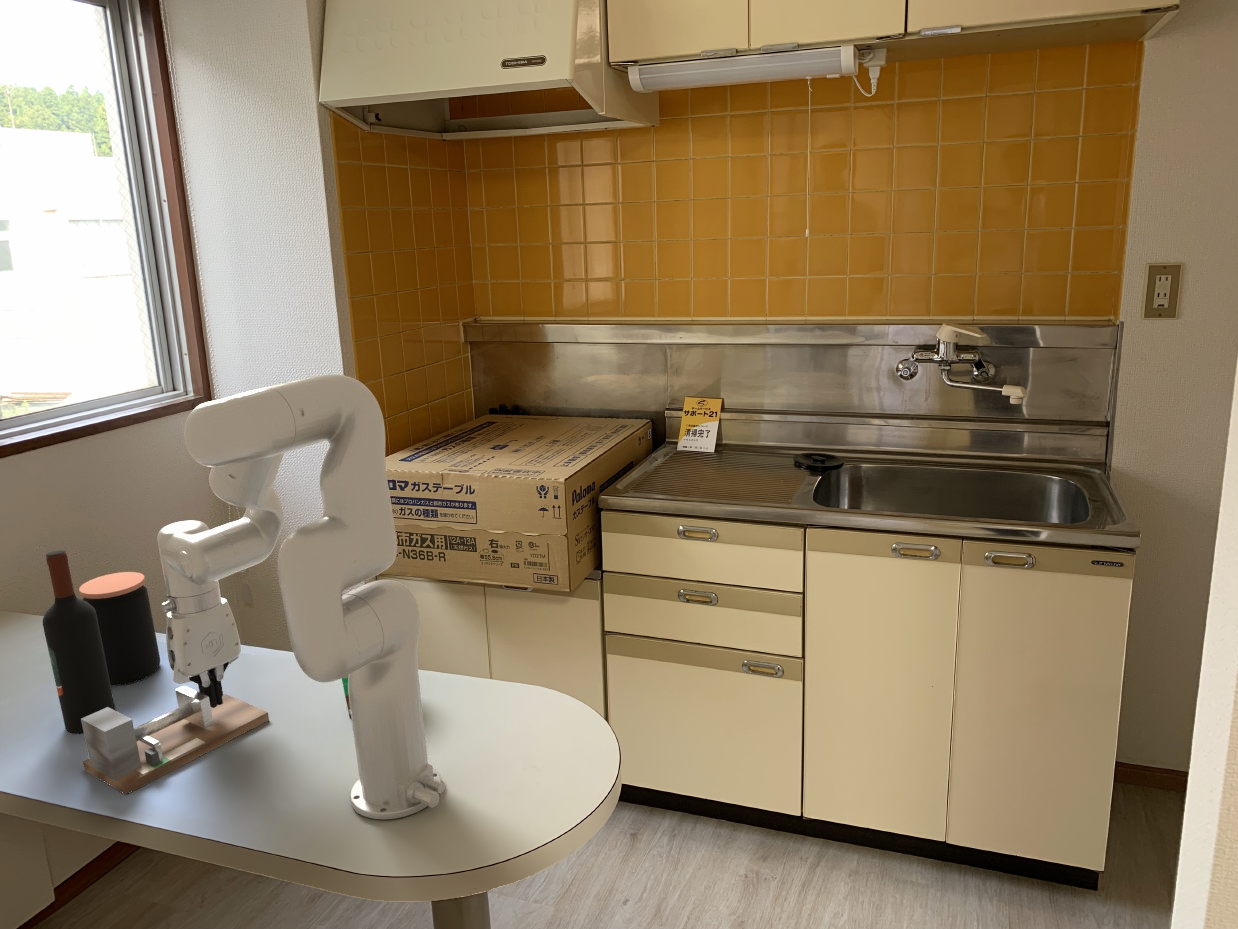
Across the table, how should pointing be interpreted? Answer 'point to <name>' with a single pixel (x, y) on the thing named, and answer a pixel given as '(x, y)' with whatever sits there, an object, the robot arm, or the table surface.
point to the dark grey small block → (152, 756)
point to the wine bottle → (75, 649)
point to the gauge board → (180, 743)
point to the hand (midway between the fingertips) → (213, 703)
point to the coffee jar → (124, 625)
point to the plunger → (178, 716)
